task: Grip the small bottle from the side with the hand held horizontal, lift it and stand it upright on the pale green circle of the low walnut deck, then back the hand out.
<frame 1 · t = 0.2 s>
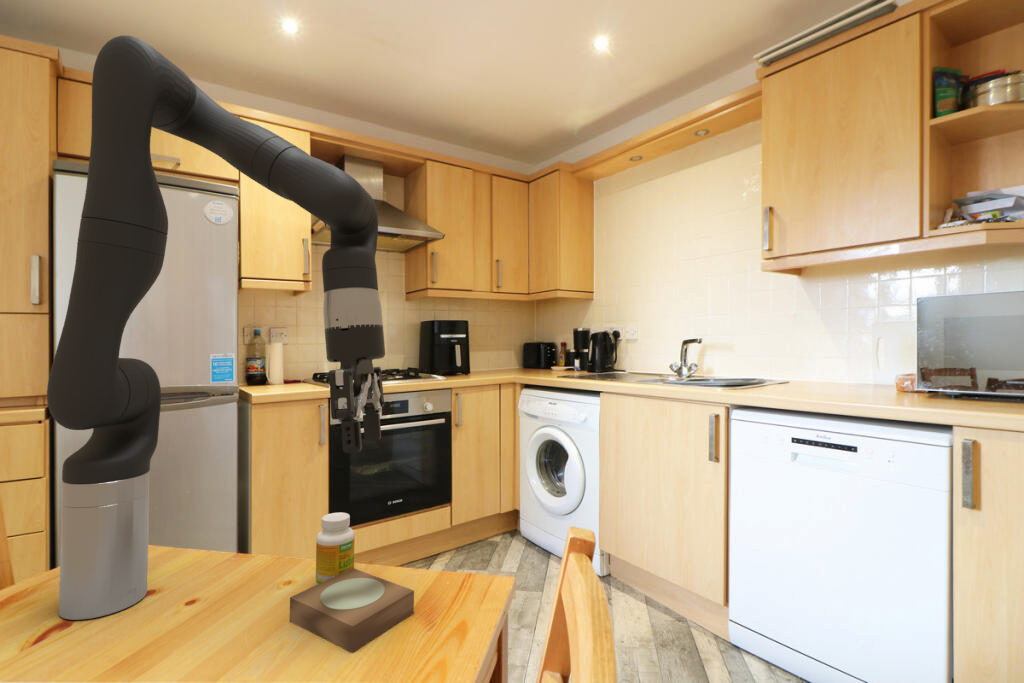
hand: (363, 445, 65), 22 cm above the table, tool pointing down, fingers open, 8 cm apart
supplement bottle: (334, 583, 73), on the table
deck: (352, 617, 63), on the table
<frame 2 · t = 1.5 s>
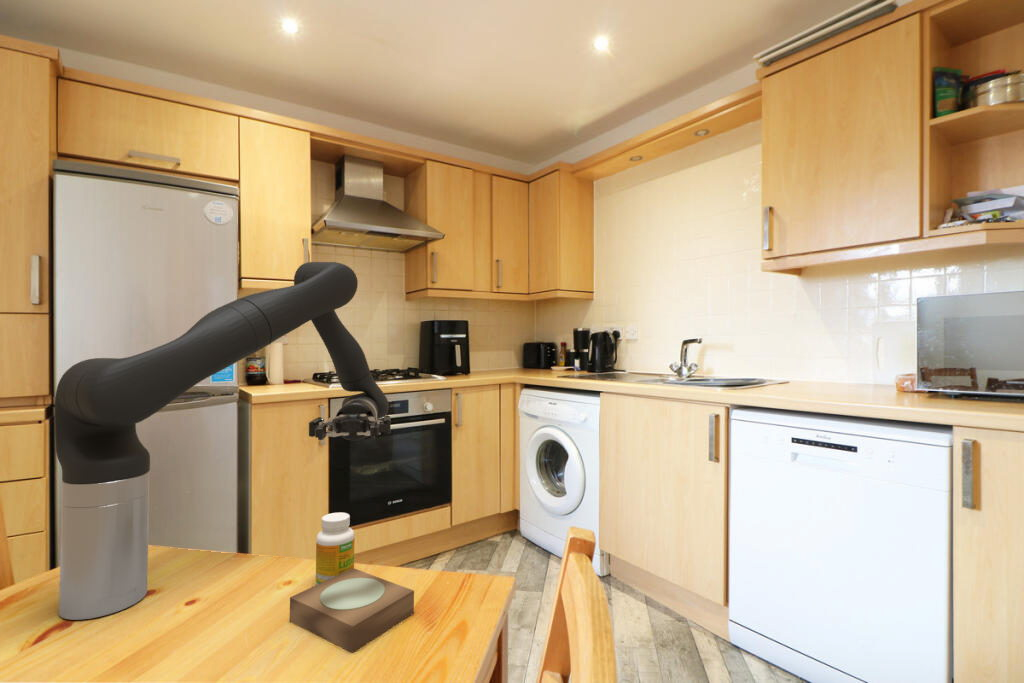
hand: (346, 433, 83), 20 cm above the table, tool horizontal, fingers open, 8 cm apart
nothing on the table moved.
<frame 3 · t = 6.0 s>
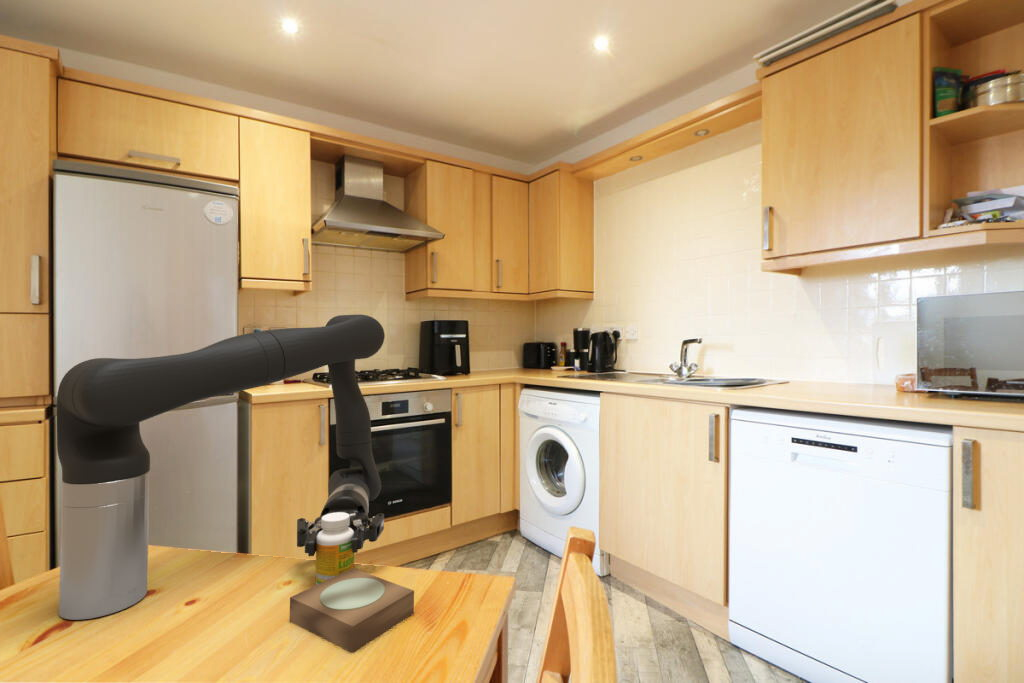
hand: (333, 547, 70), 6 cm above the table, tool horizontal, fingers closed on supplement bottle, 5 cm apart
supplement bottle: (334, 582, 73), on the table, touching gripper
when the fingers open (10 cm above the table, at t = 10.3 s): supplement bottle stays where it is, resting on deck.
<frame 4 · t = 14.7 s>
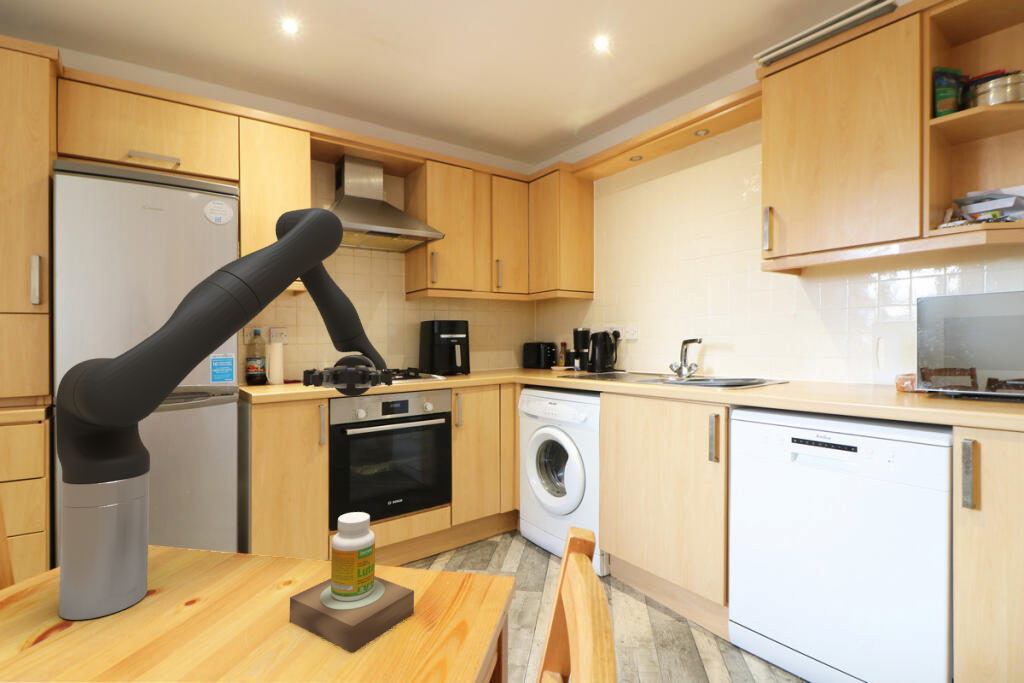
hand: (345, 379, 76), 30 cm above the table, tool horizontal, fingers open, 8 cm apart
supplement bottle: (352, 593, 63), point 3 cm above the table, touching deck
at the end: supplement bottle inside the target area on the deck (0.1 cm from its centre), point 3.0 cm above the deck's base; supplement bottle tilted 1°; the gripper is holding nothing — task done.
